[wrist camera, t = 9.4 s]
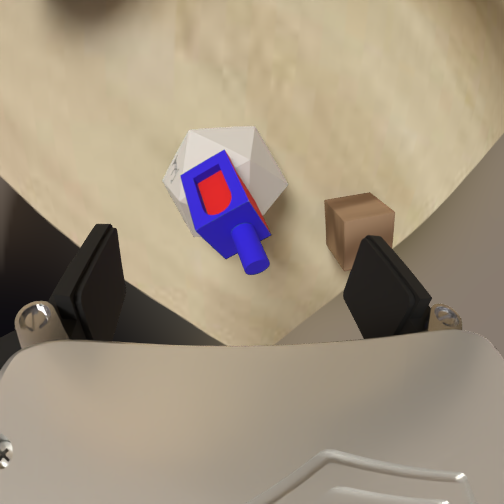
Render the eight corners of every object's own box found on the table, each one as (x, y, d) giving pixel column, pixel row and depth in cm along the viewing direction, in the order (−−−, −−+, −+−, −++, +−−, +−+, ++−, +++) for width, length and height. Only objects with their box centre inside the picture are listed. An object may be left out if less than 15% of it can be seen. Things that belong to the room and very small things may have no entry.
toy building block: (207, 206, 20) (238, 294, 16) (179, 175, 17) (206, 270, 13) (247, 184, 20) (287, 269, 16) (224, 148, 16) (266, 238, 13)
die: (246, 101, 23) (162, 108, 16) (320, 171, 23) (263, 208, 15) (202, 167, 28) (124, 197, 21) (262, 231, 28) (197, 282, 21)
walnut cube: (324, 199, 28) (344, 221, 24) (369, 192, 28) (394, 212, 24) (326, 244, 30) (344, 271, 26) (368, 235, 31) (390, 259, 26)
